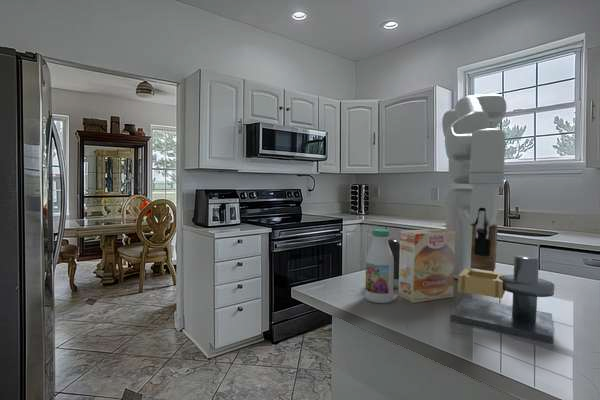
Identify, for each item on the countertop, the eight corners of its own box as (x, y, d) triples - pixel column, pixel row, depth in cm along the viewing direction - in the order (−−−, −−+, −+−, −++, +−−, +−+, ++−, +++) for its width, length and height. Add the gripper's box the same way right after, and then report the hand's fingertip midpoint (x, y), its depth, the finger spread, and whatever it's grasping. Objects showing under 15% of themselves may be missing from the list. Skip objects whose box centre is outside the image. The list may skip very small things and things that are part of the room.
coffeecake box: (413, 303, 95) (415, 233, 94) (397, 295, 102) (398, 230, 101) (454, 297, 101) (456, 231, 100) (436, 290, 107) (438, 228, 106)
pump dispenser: (396, 292, 104) (397, 243, 103) (368, 285, 112) (369, 238, 111) (414, 286, 111) (415, 239, 110) (386, 279, 119) (388, 235, 118)
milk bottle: (375, 293, 104) (376, 227, 103) (398, 299, 98) (399, 230, 97) (359, 299, 98) (361, 229, 97) (383, 306, 93) (385, 232, 92)
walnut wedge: (470, 268, 86) (472, 224, 85) (473, 265, 89) (475, 222, 88) (493, 271, 83) (495, 226, 82) (495, 268, 86) (497, 224, 85)
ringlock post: (450, 320, 83) (452, 255, 82) (463, 302, 96) (465, 245, 96) (552, 343, 72) (556, 268, 71) (551, 319, 85) (554, 255, 84)
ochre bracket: (458, 291, 86) (458, 275, 85) (468, 278, 97) (469, 264, 97) (502, 298, 80) (502, 281, 80) (507, 284, 92) (508, 269, 92)
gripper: (474, 181, 94) (472, 247, 95) (463, 179, 80) (460, 257, 81) (506, 181, 89) (504, 250, 90) (499, 179, 76) (496, 261, 77)
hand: (483, 253), depth 86 cm, fingers closed on walnut wedge, 4 cm apart
